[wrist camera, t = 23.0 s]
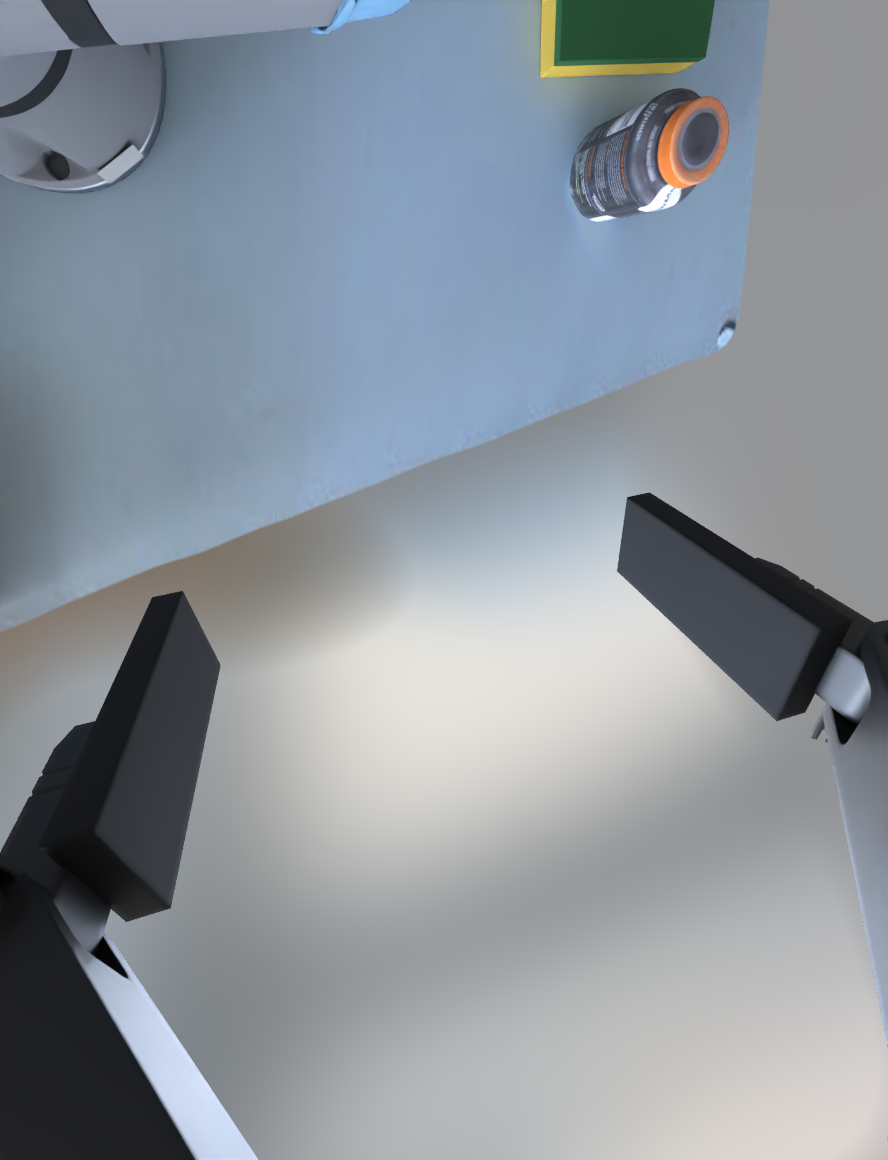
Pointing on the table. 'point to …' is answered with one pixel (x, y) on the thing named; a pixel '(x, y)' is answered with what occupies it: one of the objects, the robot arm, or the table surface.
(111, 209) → the table surface
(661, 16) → the sponge
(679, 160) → the orange-lidded supplement jar
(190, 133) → the table surface
